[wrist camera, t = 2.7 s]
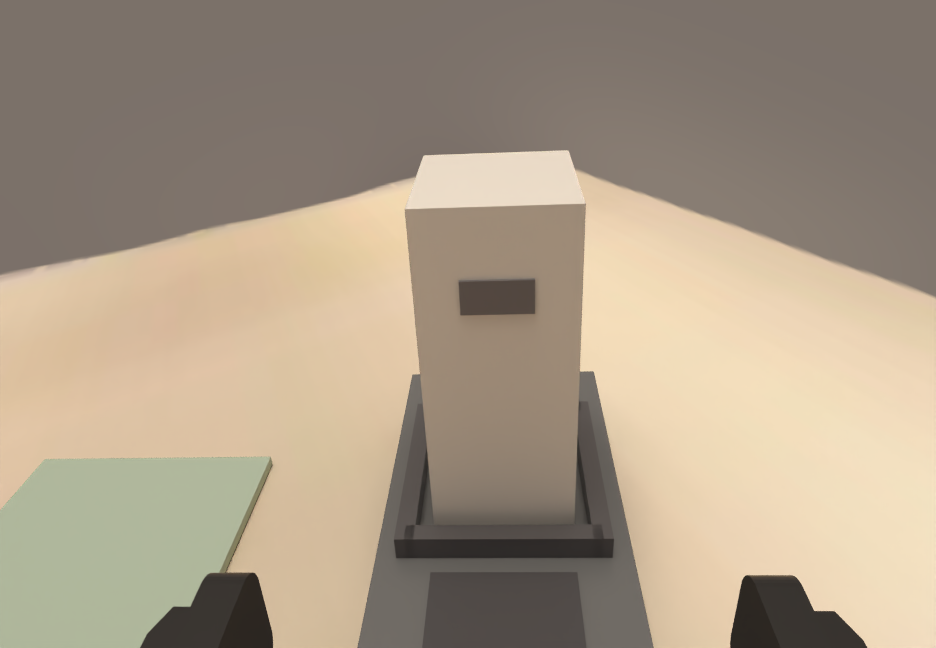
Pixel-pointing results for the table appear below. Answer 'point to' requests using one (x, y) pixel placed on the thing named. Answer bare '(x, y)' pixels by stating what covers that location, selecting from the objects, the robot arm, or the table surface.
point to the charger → (499, 332)
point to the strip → (506, 561)
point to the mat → (117, 544)
